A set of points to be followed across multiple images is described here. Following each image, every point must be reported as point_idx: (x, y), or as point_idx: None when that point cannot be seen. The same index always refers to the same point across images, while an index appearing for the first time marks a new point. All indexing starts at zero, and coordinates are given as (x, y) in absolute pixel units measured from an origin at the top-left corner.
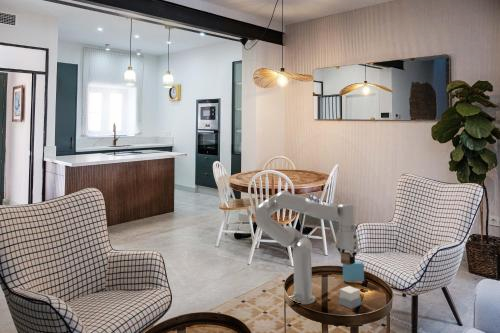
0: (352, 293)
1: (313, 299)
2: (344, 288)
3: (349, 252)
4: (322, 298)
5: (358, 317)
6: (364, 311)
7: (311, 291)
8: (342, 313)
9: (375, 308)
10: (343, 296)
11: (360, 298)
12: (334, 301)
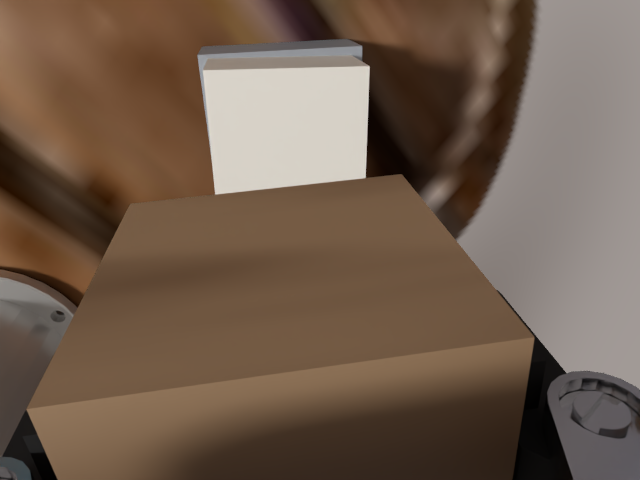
0: None
1: (68, 322)
2: (234, 174)
3: (247, 403)
4: (51, 219)
5: (462, 232)
6: (443, 127)
7: (32, 374)
8: None
9: (478, 5)
10: None
11: (360, 56)
12: (161, 180)
